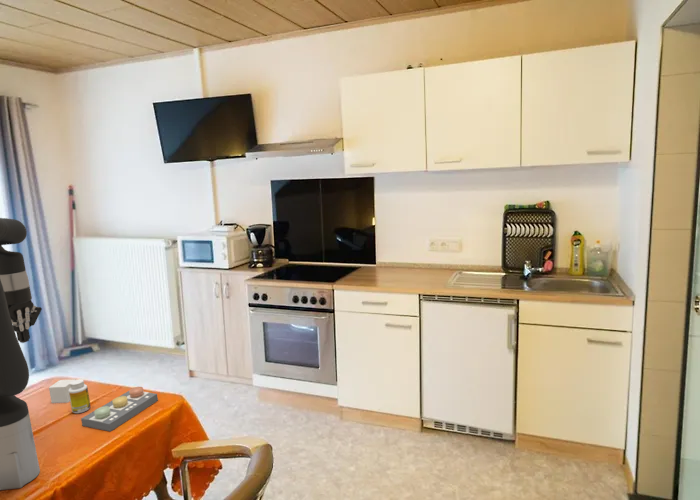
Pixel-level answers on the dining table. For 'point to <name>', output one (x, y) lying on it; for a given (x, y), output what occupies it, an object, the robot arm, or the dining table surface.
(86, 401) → the supplement bottle
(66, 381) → the off-white cube
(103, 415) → the sage button
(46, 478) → the dining table surface
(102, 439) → the dining table surface
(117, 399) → the ochre button
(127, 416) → the button panel
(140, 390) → the terracotta button
